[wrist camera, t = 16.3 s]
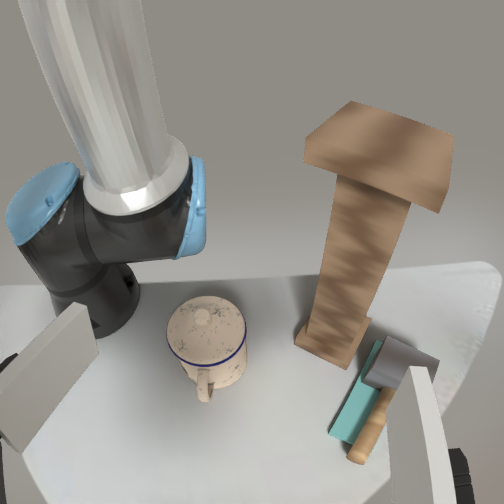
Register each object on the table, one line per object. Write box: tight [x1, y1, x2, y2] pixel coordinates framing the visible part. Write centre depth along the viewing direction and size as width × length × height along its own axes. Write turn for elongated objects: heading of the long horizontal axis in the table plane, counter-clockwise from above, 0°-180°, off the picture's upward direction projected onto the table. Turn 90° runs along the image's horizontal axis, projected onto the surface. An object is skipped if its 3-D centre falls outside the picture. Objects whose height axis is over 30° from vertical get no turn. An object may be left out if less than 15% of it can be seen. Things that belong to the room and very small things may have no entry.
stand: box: [294, 101, 454, 370], centre depth 32 cm, size 10×10×30 cm
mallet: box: [346, 335, 440, 465], centre depth 32 cm, size 15×8×5 cm, turn 146°
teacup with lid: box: [167, 296, 247, 402], centre depth 36 cm, size 12×9×12 cm
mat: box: [328, 339, 383, 452], centre depth 36 cm, size 6×15×1 cm, turn 147°
